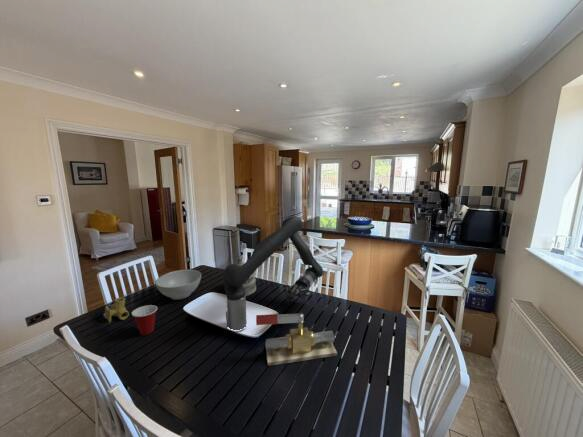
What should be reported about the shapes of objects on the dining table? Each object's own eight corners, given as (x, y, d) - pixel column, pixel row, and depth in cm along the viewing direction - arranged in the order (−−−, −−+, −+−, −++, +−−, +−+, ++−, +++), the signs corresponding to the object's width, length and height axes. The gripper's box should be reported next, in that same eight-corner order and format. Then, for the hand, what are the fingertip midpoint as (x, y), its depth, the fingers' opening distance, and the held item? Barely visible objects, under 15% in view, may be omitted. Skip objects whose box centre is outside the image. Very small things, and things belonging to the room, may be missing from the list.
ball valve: (120, 310, 136) (99, 317, 127) (121, 294, 135) (100, 299, 126) (130, 319, 129) (108, 326, 120) (131, 302, 128) (109, 308, 119)
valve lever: (303, 319, 103) (303, 312, 102) (304, 323, 100) (304, 316, 99) (256, 321, 101) (256, 314, 101) (256, 325, 98) (256, 318, 98)
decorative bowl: (188, 282, 170) (187, 266, 168) (210, 292, 155) (209, 275, 153) (149, 297, 149) (147, 279, 147) (170, 311, 134) (168, 292, 131)
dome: (233, 263, 140) (218, 254, 154) (235, 301, 144) (220, 289, 159) (261, 255, 153) (245, 248, 168) (262, 290, 158) (246, 280, 172)
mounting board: (267, 365, 95) (267, 360, 95) (265, 345, 107) (265, 339, 106) (336, 355, 101) (337, 349, 100) (327, 336, 112) (327, 331, 112)
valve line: (267, 358, 97) (266, 331, 95) (265, 346, 104) (265, 320, 102) (334, 348, 103) (335, 322, 101) (329, 337, 110) (330, 313, 107)
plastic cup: (164, 326, 120) (162, 305, 118) (147, 340, 110) (144, 317, 108) (147, 323, 123) (145, 302, 121) (129, 336, 113) (125, 314, 110)
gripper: (292, 274, 125) (277, 287, 109) (316, 279, 119) (303, 294, 104) (292, 287, 126) (277, 302, 111) (315, 292, 121) (303, 309, 105)
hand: (290, 298), depth 107 cm, fingers closed
